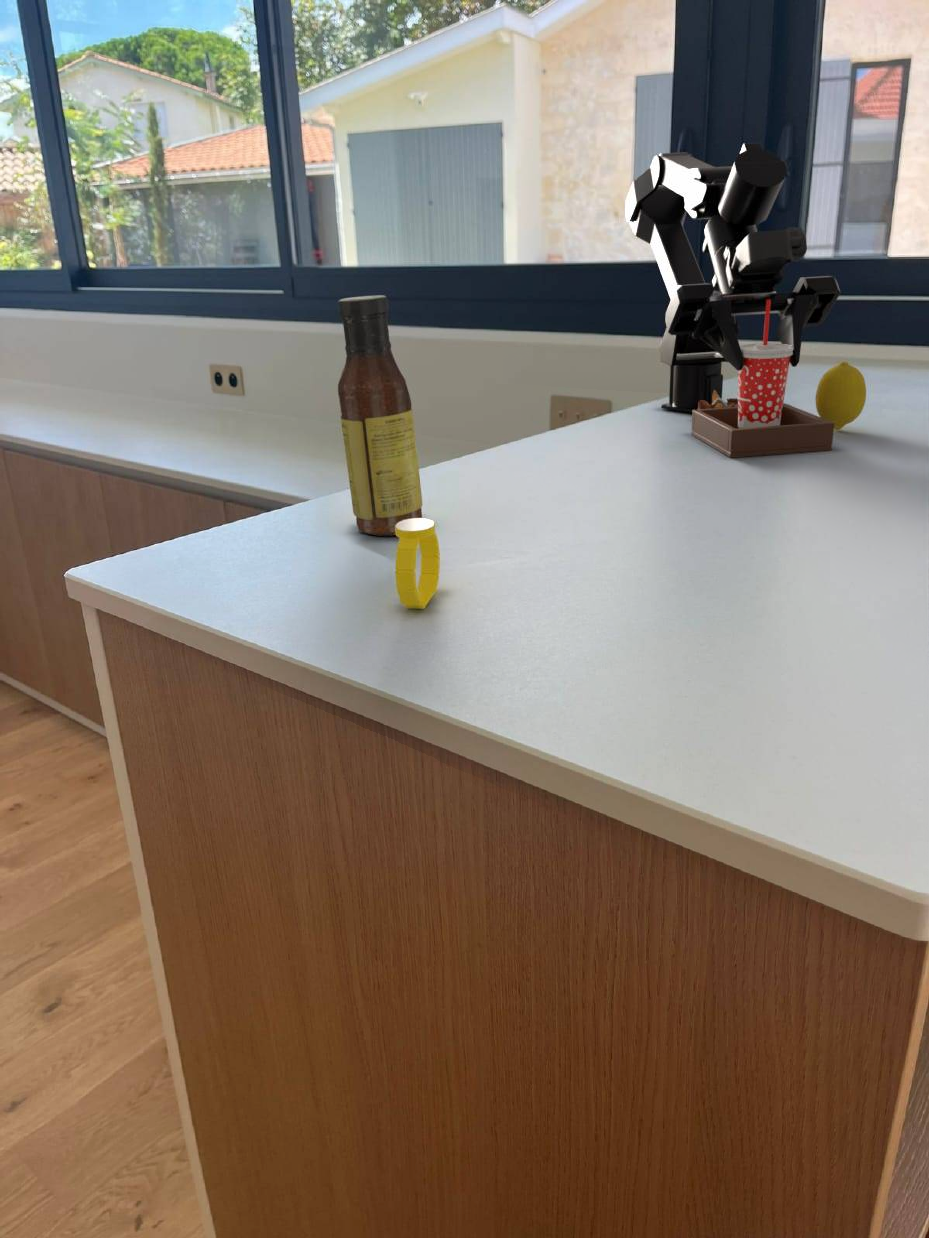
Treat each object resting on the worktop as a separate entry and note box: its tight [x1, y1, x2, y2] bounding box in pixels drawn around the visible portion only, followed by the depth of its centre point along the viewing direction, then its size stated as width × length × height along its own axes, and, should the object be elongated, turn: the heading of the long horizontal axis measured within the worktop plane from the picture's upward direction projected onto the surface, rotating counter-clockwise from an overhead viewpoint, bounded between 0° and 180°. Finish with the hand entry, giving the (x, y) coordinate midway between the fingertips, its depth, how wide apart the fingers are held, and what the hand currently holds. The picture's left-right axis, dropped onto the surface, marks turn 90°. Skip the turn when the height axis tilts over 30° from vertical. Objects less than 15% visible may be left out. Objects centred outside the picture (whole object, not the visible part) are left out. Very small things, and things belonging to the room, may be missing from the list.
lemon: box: [815, 361, 867, 431], centre depth 112 cm, size 6×6×8 cm
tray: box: [691, 402, 835, 459], centre depth 109 cm, size 13×12×3 cm
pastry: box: [698, 390, 738, 410], centre depth 122 cm, size 7×12×4 cm, turn 152°
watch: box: [394, 517, 441, 610], centre depth 67 cm, size 6×3×6 cm, turn 165°
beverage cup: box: [737, 299, 794, 428], centre depth 106 cm, size 6×6×14 cm
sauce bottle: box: [337, 295, 423, 537], centre depth 82 cm, size 6×6×20 cm
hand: (768, 366), depth 105 cm, fingers closed on beverage cup, 6 cm apart
